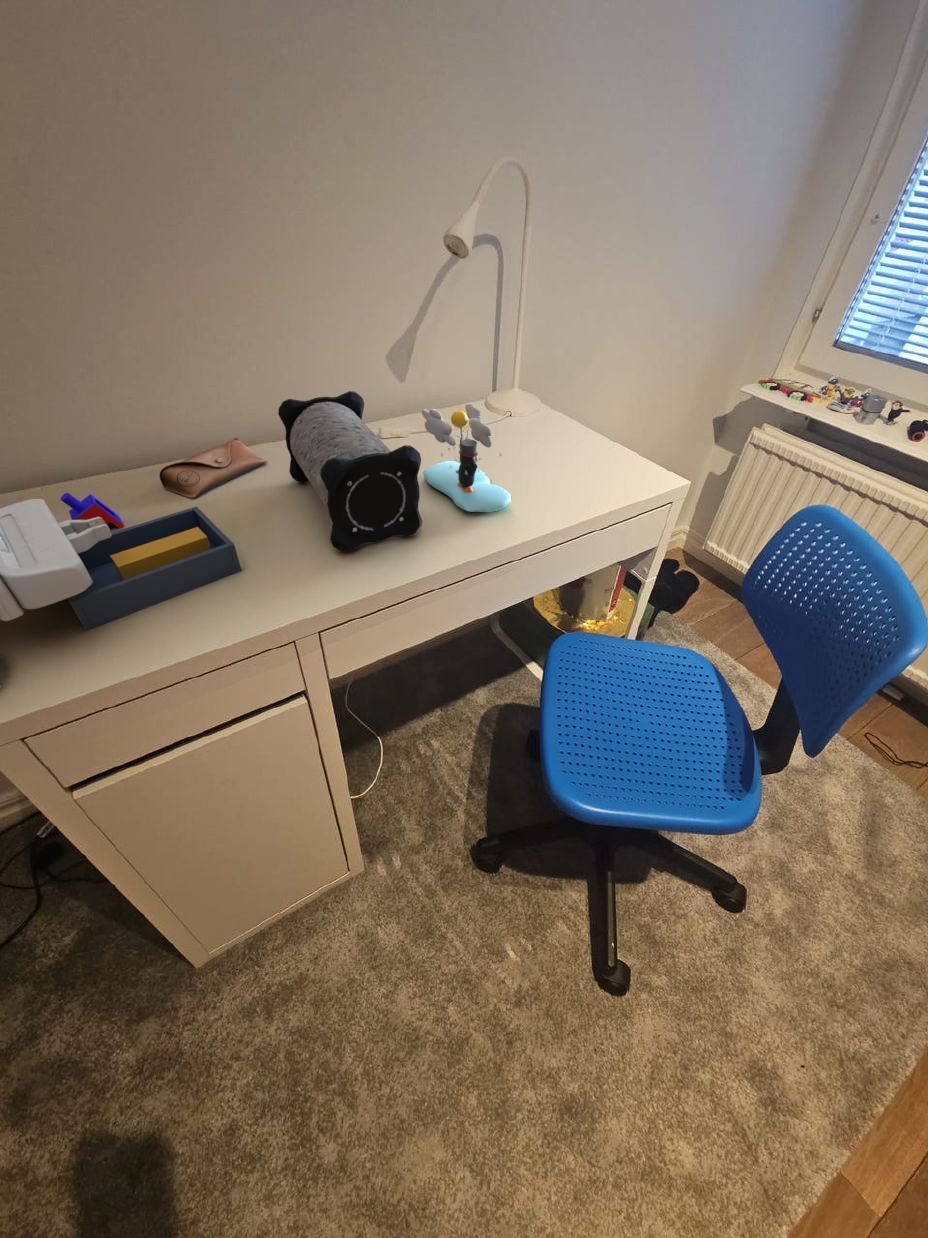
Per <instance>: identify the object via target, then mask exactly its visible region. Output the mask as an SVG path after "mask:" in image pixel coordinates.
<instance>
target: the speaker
mask: <svg viewBox="0 0 928 1238" xmlns="http://www.w3.org/2000/svg"><path fill="white" fill-rule="evenodd" d="M364 408H365V401H364V398H363V397H362V396H361V394H359V393H358V392H356V391H352V390H349V391H347V392H344V393H342V394H339V395H337V396H317V397H314V398H311V399H309V400H300V399H293V398H288V399H286V400H283V401H282V402H281V404H280V406H279V407H278V410H277V411H278V412H277V413H278V416H279V418H280V420H281V423H282V424H283V426H284V429H285V443H286V448H287V451H288V453H289V457H290V464H289V475H290V476H291V478H292V479H293V480H294V481H296V483H308V482H309V483H310V485H311V487H312V488H313V489H314V491H315V492H316V493H317V496H318V497H319V499H320V500H321V502H322V503H323V504H324V506H325V508H326V509H327V512H328V516H329V518H330V520H331V524H332V525H331V530H330V536H329V541H330V543H331V545H332V547H333V549H335V550H338V551H340V552H351V551H354V550H356V549H357V548H358V547H360V546H362V545H365V544H376V543H379V542H380V543H381V542H383V541H386V540H388V539H390V538H394V537H404V538H405V537H407V538H409V537H411V536H413V535H415V534H417V533H418V531H419V530H421V529H420V528H422V524H423V519H422V516H421V514H420V513H421V512H420V511H419V504H420V497H421V493H420V491H421V490H420V484H419V480H418V479H419V478H418V476H419V472H420V469H421V464H422V457H421V453H420V452H419V451H418V450H417V449H416V447H415V448H414V447H413V446H412V445H407V444H404V445H401V446H400V447H397V448H396V449H393V450H391V449H389V447H388V446H387V445H386V444H385V443H384V441H382V439H380V438H379V437H378V436H377V435H376V434H375V433H374V431H372V430H371V428H370V427H369V426H368V425H367V424H366V423H365V422H364V420H363V414H364Z"/></svg>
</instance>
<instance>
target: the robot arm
mask: <svg viewBox="0 0 928 1238" xmlns="http://www.w3.org/2000/svg"><path fill="white" fill-rule="evenodd" d="M111 536H112V531H111V529H110V527H109V525H108V524H106V523H105V522H104V520H103V519H102V518H101V517H95V518H92V519H88V520H72V519H67V520H63V521H60V522H58V521H57V519H56V517H55V515H54V514H53V512H52V510H51V509H50V508H49V506H48V504H47V503H46V501H45V500H44V499H43V498H29V499H26V500H21V501H19V502H16V503H12V504H9V505H7V506H3V507H0V621H3V622H8V621H13V620H15V619H17V618H20V617H22V616H23V615H24V613H25V612H24V609H25V610H37V609H40V608H45V607H48V606H50V605H53V604H56V603H59V602H61V601H64V600H68V599H67V598H69V597H72V596H74V595H77V594H79V593H81V592H83V591H85V590H86V589H87V588H88V587H89V586H90V585H91V584H92V583H93V581H92V579H91V577H90V575H89V573H88V571H87V569H86V567H85V566H84V564H83V562H82V560H81V559H80V557H79V556H78V553H81V552H84V551H87V550H88V549H90V548H91V547H92V546H94V545H95V544H96V543H98V541H101V540H104V539H107V538H110V537H111Z"/></svg>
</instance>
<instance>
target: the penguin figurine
mask: <svg viewBox="0 0 928 1238" xmlns="http://www.w3.org/2000/svg"><path fill="white" fill-rule="evenodd" d="M461 408H462V406H461V407H460V408H458V409H459V410H455V411H453V413H452V414H451V416H450V422H451V424H452V425H453V426H454V427H455V428H457V429H460V436H459V435H456V433H454V435H455V436H457V437H458V438H459V444H456V440H455V438H454V436H452V431H453V429H452V426H451V425H450V424H449V423H448V421H446V420H445V419H444V418H443V415H442V413H441V412H440V411H439V410H438V409H435V408H430V409H426V408H422V410H421V415H422V417H423V418H424V419H425V421H424V429H425V430H426V432H428V433H429V434H431V435H433V436H434V438H435V440H436V441H437V442H438V443H441V444H443V443H444V444H445V443H446V444H448V445H449V446H447V449H448V451H451V448H450V446H451V447H452V449H453V450H456V447H455V446H456V445H457V446H458V447H459V451H458V454H459V460H458V458H457V457H454V460H444V461H440V462H438V463H435V464H433V465H431V466H428V467H426V468H423V469H424V470H422V475H423V477H424V479H425V480H426V482H427V483H428V484H429V485H430V486H432V487H433V488H435V489H436V490H437V491H440V492H441V493H443V494H445V495H447V496H448V497H449V498H451V499H452V501H453V503H454V504H455V505H456V506H457V507H458V508H460V509H462V510H463V511H466V512H471V513H472V512H473V513H474V512H475V513H478V512H481V513H492V512H497V511H500V510H504V508H506V507H508V506H509V505H510V503H511V500H512V496H511V494H510V493H509V492H508V491H507V490H506V489H504V488H503V487H501V486H499V485H496V484H493V483H490V482H493V481H492V479H489V477H488V476H487V473H486V472H483V471H482V470H481V469H479V468H478V464H477V462H478V461H481V460H482V458H479V457H478V454H479V453H478V442H480V444H481V445H483V446H484V447H486V448H491V447H492V439H491V436H492V429H491V428H490V427H489V426H488V425H487V424H485V423H484V422H482V419H481V416H482V415H481V410H480V409H479V408H477V407H476V406H474V405H473V404H471V403H466V404H465V406H464V409H465V411H463V410H462V409H461ZM467 424H468V425H467ZM466 425H467V426H466ZM465 427H466V428H467V427H469V429H470V434H471V437H472V439H470V438H469V437H468V435H469V431H466V436H465V439H464V434H463V432H464V431H465V429H466V428H465ZM463 428H464V429H463ZM498 455H499V456H502V453H501V452H499V454H498ZM440 456H441V458H443V456H444V453H440Z"/></svg>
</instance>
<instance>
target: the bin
mask: <svg viewBox="0 0 928 1238" xmlns="http://www.w3.org/2000/svg"><path fill="white" fill-rule="evenodd" d="M196 527H198V528H199V529H200V530H201V531H202V532H203V533H204V534H205V535H206V536H207V538H208V541H209V544H210V547H211V549H210V550H208V551H205V552H202V553H199V554H196V555H193V556H191V557H188V558H185V559H182V560H179V561H176V562H174V563H171V564H168V565H165V566H162V567H159V568H157V569H154V570H151V571H148V572H145V573H143V574H140V575H137V576H134V577H131V578H128V579H126V580H122V579H121V577H120V576H119V574H118V572H117V569H116V567H115V565H114V563H113V561H112V559H111V557H110V555H113V554H116V553H119V552H123V551H126V550H129V549H132V548H135V547H138V546H141V545H144V544H147V543H150V542H153V541H156V540H159V539H162V538H165V537H168V536H171V535H174V534H177V533H181V532H184V531H187V530H190V529H193V528H196ZM111 533H112V536H111V537H110V538H107V539H104V540H101V541H98V543H96V544H95V545H94V546H92V547H91V548H90V549H88V550H87V551H84V552H81V553H78V556H79V557H80V559H81V560H82V562H83V564H84V566H85V567H86V569H87V571H88V573H89V575H90V577H91V579H92V581H93V583H92V584H91V585H90V586H89V587H88V588H87V589H86V590H85V591H83V592H81V593H79V594H77V595H74V596H72V597H69V598H67V599H66V600H67V601H68V604H69V605H70V606H71V608H72V610H73V612H74V614H75V615H76V617H77V618H78V621H79V623H80V624H81V625H82V627H83V629H84V630H85V631H89V630H91V629H95V628H96V627H100V626H101V625H104V624H107V623H110V622H112V621H114V620H117V619H121V618H123V617H125V616H127V615H131V614H133V613H136V612H138V611H141V610H144V609H147V608H148V607H151V606H153V605H154V606H155V605H156V604H160V603H161V602H162V603H163V601H167V600H170V599H172V598H174V597H177V596H180V595H182V594H185V593H188V592H190V591H192V590H195V589H198V588H200V587H202V586H206V585H208V584H211V583H213V582H215V581H218V580H221V579H223V578H226V577H229V576H231V575H234V574H237V573H239V572H241V571H242V566H241V562H240V559H239V556H238V553H237V549H236V546H235V543H234V542H233V541H232V540H231V539H230V538H229V537H227V535H226V534H225V533H224V532H223V531H222V530H221V529H220V528H219V527H218V526H217V525H216V524H215V523H214V522H213V521H212V520H211V519H210V518H209V517H208V516H207V515H206V514H205V513H204V512H203V511H202V510H201V509H200V508H199V507H198V506H193V507H190V508H187V509H183V510H180V511H177V512H174V513H170V514H167V515H163V516H161V517H158V518H154V519H150V520H148V521H145V522H141V523H138V524H135V525H132V526H128V527H125V528H122V529H121V528H120V529H119V530H115V531H111Z"/></svg>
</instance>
